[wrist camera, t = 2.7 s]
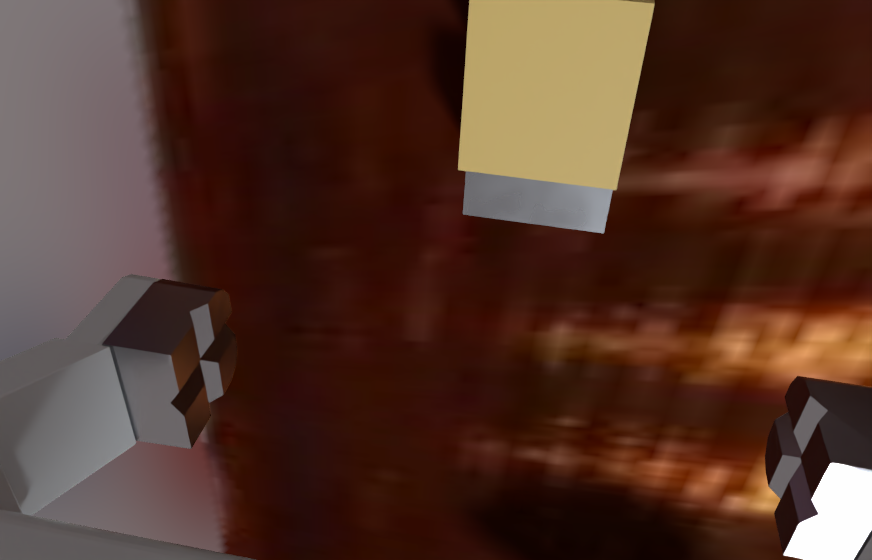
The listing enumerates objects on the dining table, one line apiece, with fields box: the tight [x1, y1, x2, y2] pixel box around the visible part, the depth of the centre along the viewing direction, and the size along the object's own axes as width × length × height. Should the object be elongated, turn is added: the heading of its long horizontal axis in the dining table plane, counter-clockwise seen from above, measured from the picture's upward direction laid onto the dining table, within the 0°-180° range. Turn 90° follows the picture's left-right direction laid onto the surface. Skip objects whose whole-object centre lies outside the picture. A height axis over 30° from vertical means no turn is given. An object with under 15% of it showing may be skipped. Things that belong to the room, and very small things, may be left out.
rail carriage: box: [458, 0, 655, 190], centre depth 22 cm, size 5×5×7 cm
